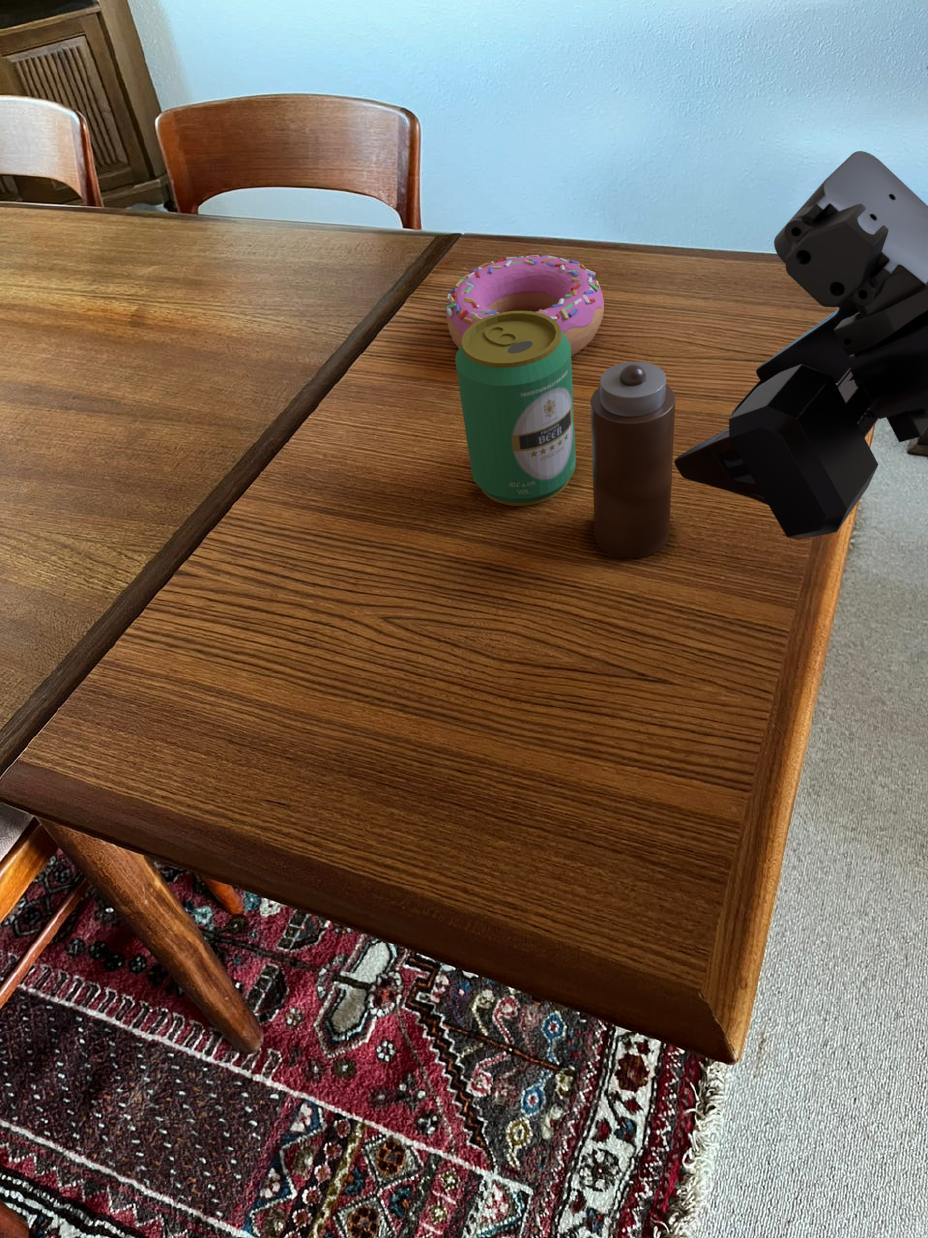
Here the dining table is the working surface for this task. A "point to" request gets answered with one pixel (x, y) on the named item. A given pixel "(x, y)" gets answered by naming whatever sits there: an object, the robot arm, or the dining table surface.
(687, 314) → the dining table surface
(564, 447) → the beverage can
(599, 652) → the dining table surface
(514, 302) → the donut
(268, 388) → the dining table surface
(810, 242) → the robot arm
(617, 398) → the pepper mill
